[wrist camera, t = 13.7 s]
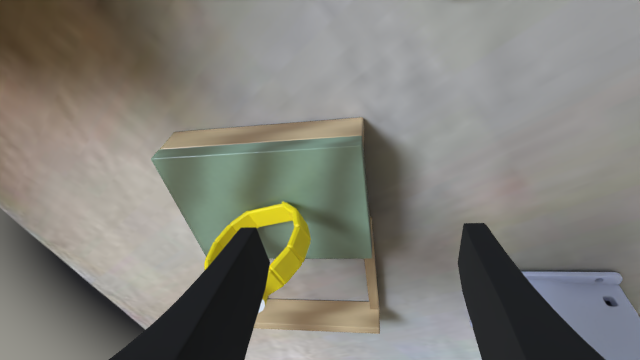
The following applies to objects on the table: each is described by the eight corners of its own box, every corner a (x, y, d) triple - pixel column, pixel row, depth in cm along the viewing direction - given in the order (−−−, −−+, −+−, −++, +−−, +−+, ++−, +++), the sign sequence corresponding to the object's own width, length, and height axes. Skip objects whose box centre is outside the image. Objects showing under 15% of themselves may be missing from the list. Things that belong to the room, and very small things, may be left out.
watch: (301, 184, 19) (278, 272, 15) (322, 217, 21) (307, 307, 16) (217, 209, 21) (175, 293, 17) (242, 237, 23) (209, 321, 18)
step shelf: (363, 116, 19) (361, 145, 17) (379, 307, 32) (379, 339, 29) (174, 131, 22) (150, 158, 19) (257, 304, 34) (249, 333, 32)
